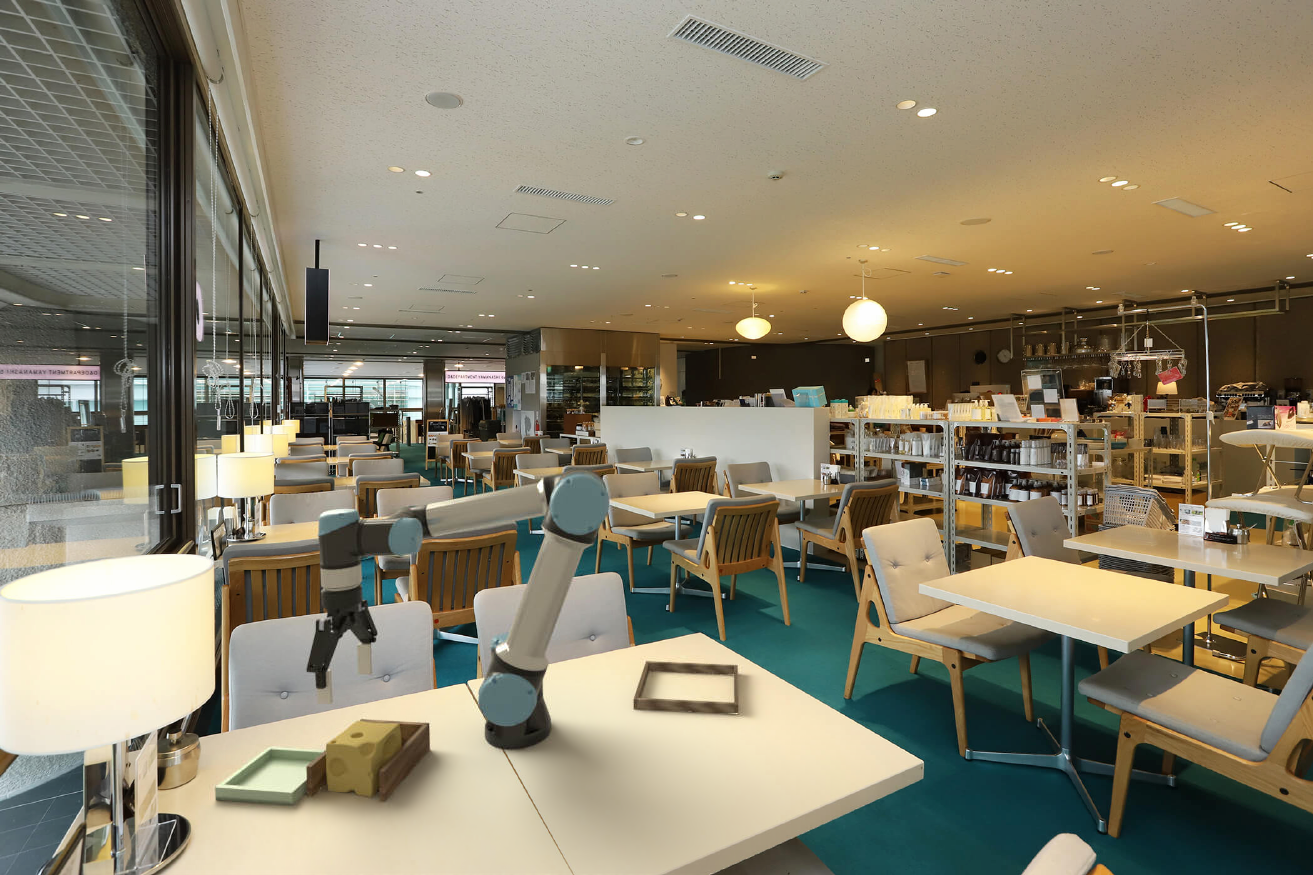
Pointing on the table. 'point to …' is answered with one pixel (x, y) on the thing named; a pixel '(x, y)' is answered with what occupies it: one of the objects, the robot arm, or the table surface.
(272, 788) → the tray
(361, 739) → the cheese
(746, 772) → the table surface
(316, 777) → the cubby
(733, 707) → the frame
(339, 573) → the robot arm
